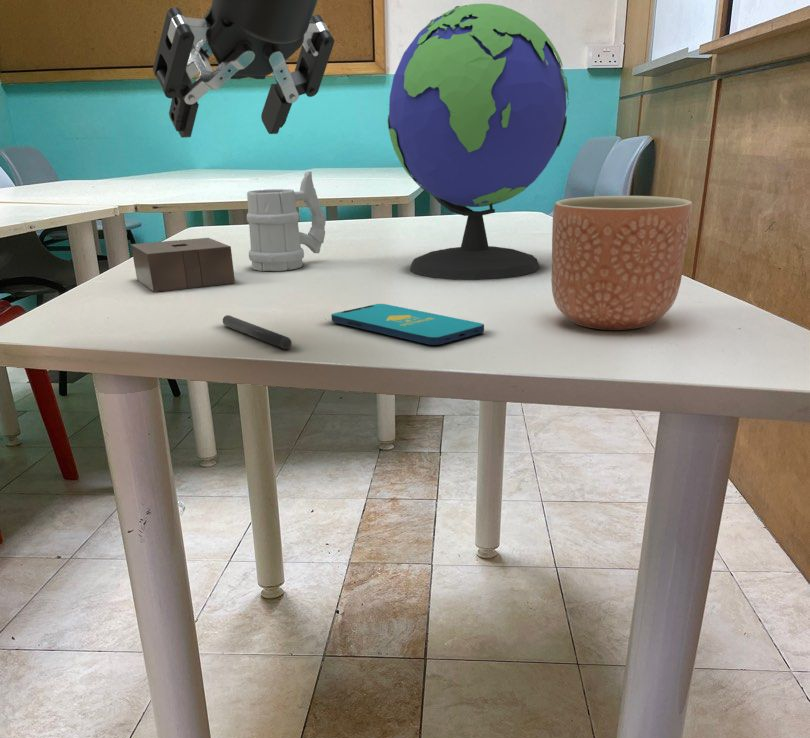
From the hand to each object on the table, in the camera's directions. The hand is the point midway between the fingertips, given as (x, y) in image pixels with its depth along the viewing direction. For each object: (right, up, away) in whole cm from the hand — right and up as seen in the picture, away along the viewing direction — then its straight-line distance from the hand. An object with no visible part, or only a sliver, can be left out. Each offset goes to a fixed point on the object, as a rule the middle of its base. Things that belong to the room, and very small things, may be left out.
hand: (226, 128), depth 72 cm
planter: (+36, -15, +7) cm, 40 cm away
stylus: (-2, -14, +10) cm, 18 cm away
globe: (+25, 0, +37) cm, 45 cm away
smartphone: (+16, -16, +7) cm, 24 cm away
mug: (0, +2, +43) cm, 43 cm away
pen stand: (-13, -3, +33) cm, 36 cm away
